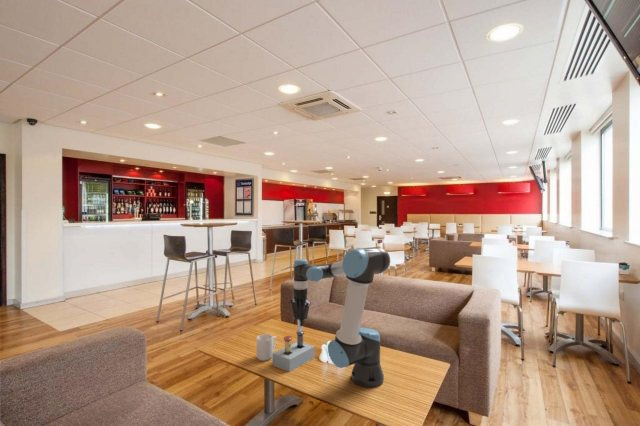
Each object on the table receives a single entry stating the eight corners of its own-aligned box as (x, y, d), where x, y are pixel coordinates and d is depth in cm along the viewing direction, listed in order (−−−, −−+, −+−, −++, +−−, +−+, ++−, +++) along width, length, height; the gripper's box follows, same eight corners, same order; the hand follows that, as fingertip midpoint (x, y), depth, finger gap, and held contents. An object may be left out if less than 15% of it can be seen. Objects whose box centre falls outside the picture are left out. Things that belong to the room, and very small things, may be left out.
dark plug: (305, 348, 174) (305, 331, 174) (300, 350, 170) (300, 333, 170) (299, 346, 176) (299, 330, 176) (294, 348, 173) (295, 332, 173)
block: (314, 357, 174) (314, 346, 174) (289, 371, 157) (289, 359, 158) (297, 351, 181) (297, 341, 181) (272, 364, 165) (272, 353, 165)
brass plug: (293, 354, 166) (293, 337, 166) (287, 357, 162) (288, 339, 162) (287, 352, 168) (287, 335, 168) (282, 355, 165) (282, 337, 165)
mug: (263, 363, 167) (263, 341, 167) (253, 357, 173) (253, 337, 173) (280, 355, 175) (281, 335, 175) (270, 351, 181) (271, 331, 181)
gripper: (314, 288, 173) (313, 332, 172) (295, 285, 180) (295, 326, 180) (305, 291, 167) (305, 336, 166) (287, 287, 174) (286, 330, 174)
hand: (300, 331), depth 173 cm, fingers closed
